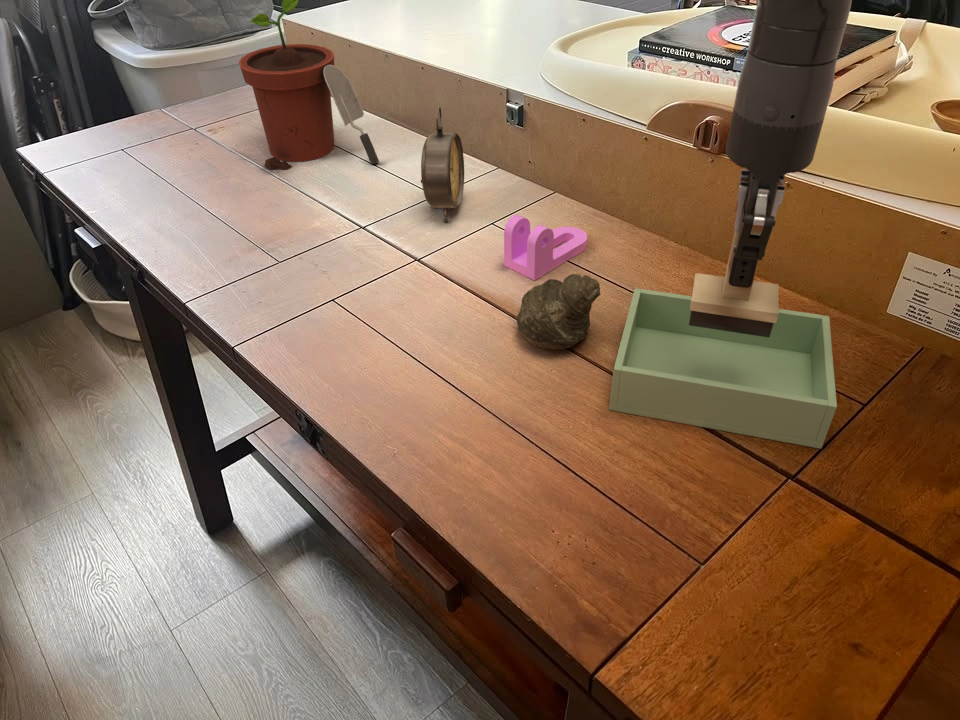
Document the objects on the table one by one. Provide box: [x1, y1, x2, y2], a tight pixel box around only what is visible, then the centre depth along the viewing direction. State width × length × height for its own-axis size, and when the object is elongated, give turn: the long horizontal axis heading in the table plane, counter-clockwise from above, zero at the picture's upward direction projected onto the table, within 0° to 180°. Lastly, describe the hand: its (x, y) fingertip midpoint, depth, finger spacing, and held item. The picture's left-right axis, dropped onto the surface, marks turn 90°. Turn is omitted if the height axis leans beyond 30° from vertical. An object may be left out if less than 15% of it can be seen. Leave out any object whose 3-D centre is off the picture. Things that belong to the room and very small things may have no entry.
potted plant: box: [238, 0, 380, 171], centre depth 128 cm, size 18×22×25 cm
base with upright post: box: [689, 230, 780, 338], centre depth 76 cm, size 8×5×10 cm, turn 73°
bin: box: [608, 287, 838, 450], centre depth 83 cm, size 22×16×6 cm
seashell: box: [516, 273, 601, 351], centre depth 90 cm, size 11×12×10 cm
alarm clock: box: [420, 105, 465, 224], centre depth 113 cm, size 11×5×16 cm, turn 171°
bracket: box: [503, 214, 588, 281], centre depth 105 cm, size 13×6×7 cm, turn 135°
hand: (740, 275), depth 76 cm, fingers closed on base with upright post, 2 cm apart
